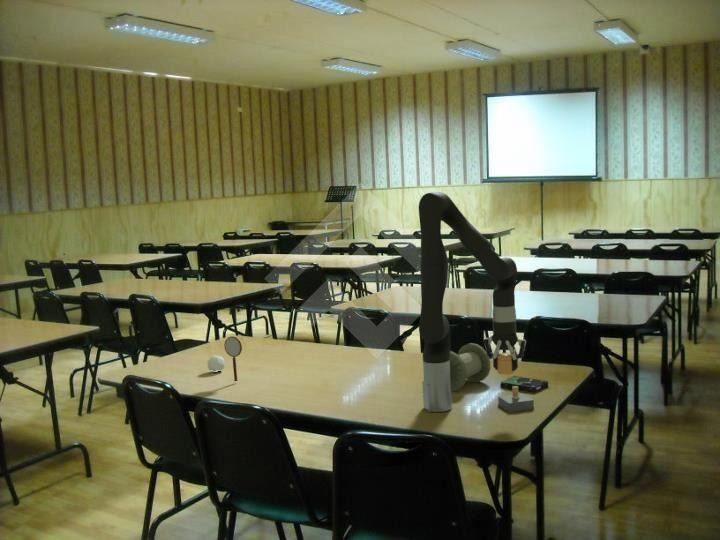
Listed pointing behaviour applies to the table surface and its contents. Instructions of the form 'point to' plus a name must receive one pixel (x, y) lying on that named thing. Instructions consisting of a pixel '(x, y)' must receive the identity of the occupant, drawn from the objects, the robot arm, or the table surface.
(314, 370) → the table surface
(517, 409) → the grey piece
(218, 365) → the ball
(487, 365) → the spool
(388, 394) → the table surface
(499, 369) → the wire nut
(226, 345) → the magnifying glass
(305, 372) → the table surface
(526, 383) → the disk drive
